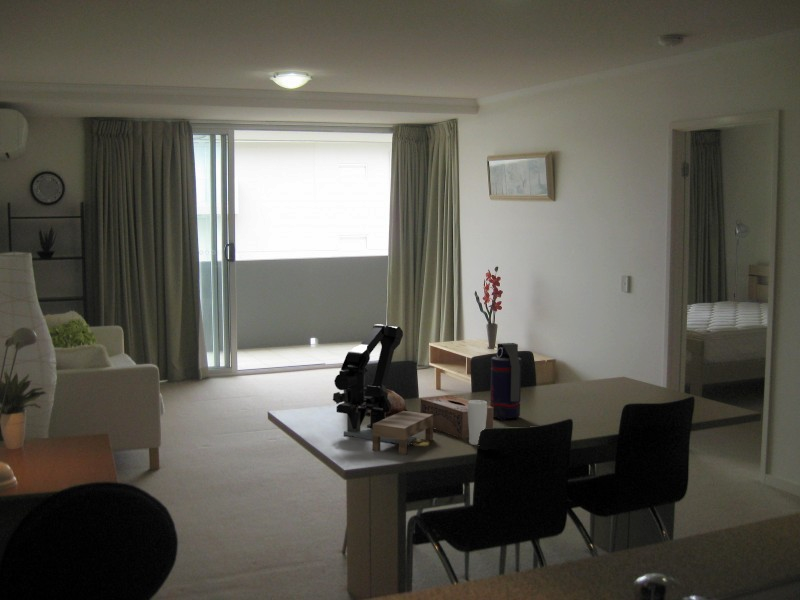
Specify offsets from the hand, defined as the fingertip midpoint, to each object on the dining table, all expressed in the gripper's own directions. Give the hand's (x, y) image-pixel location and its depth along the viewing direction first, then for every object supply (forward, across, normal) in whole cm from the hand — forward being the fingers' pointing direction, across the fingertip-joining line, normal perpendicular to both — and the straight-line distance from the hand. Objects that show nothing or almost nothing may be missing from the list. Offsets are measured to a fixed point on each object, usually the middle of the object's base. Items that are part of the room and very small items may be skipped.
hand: (356, 427), depth 301 cm
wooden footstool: (+2, +3, +21) cm, 21 cm away
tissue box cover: (+3, -27, +28) cm, 39 cm away
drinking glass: (+3, -11, +43) cm, 44 cm away
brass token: (+3, 0, +26) cm, 26 cm away
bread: (+3, -39, -10) cm, 40 cm away
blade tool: (+2, 0, +10) cm, 10 cm away
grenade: (+3, -52, +38) cm, 65 cm away
